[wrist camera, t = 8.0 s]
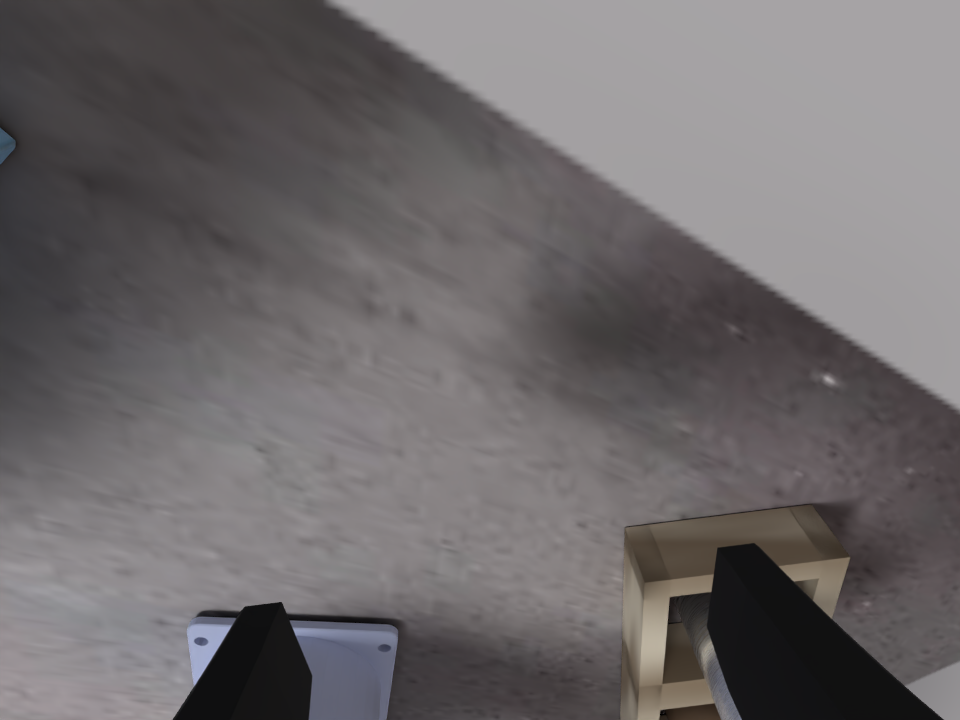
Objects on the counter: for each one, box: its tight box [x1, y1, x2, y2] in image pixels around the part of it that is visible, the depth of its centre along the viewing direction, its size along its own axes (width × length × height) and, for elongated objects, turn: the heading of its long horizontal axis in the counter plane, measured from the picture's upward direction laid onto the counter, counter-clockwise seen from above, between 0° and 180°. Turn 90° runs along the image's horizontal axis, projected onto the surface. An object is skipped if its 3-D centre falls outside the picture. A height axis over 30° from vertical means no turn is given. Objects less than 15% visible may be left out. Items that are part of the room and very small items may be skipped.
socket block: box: [620, 504, 850, 720], centre depth 24 cm, size 14×7×6 cm, turn 6°
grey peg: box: [672, 592, 742, 720], centre depth 21 cm, size 4×4×8 cm
